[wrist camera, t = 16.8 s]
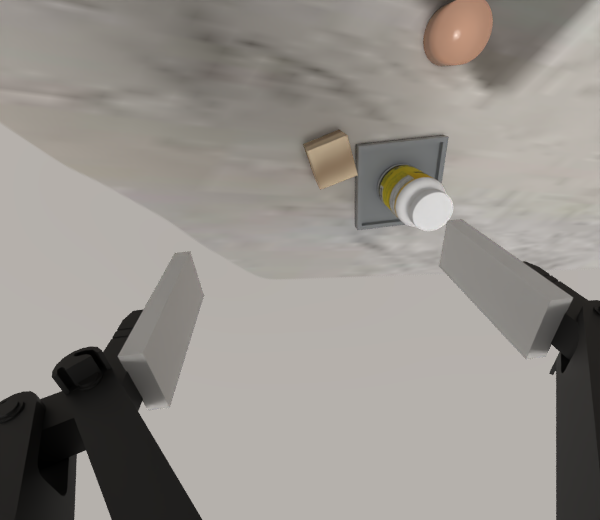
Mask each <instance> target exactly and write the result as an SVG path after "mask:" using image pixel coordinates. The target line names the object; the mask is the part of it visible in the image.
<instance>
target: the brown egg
mask: <svg viewBox="0 0 600 520" xmlns="http://www.w3.org/2000/svg"><path fill="white" fill-rule="evenodd" d="M492 23H493V19H492V12H491V9H490V7H489V5H488V3H487V2H486V1H485V0H456V1H454V2H451V3H449V4H447V5H445V6H443V7H441V8H440V9H439V10H437V11H436V12H435V14H434V15H433V16H432V17H431V19H430V20H429V22H428V24H427V27H426V29H425V33H424V41H423V44H424V51H425V54H426V56H427V58H428V59H429V60H430V61H431V62H432V63H433V64H435V65H438V66H451V65H460V64H465V63H467V62H469V61H471V60H473V59H474V58H475V57H477V56H478V55H479V54H480V52H481V51H482V50H483V49H484V47H485V46H486V44H487V42H488V40H489V37H490V34H491V30H492Z"/></svg>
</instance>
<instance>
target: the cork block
mask: <svg viewBox="0 0 600 520" xmlns="http://www.w3.org/2000/svg"><path fill="white" fill-rule="evenodd" d="M303 145H304V148H305V151H306V154H307V157H308V160H309V163H310V166H311V169H312V172H313V174H314V177H315V180H316V182H317V184H318V186H319V188H320V190H321V189H324V188H326V187H329V186H331V185H334V184H336V183H339V182H342V181H344V180H347V179H349V178H352V177H355V176H357V175H358V174H357V170H356V166H355V163H354V159H353V155H352V151H351V148H350V144H349V140H348V136H347V135H346V134H345V133H343V132H342V131H340V130H337V131H334V132H332V133H329V134H327V135H324V136H322V137H320V138H317V139H315V140H312V141H310V142H307V143H305V144H303Z"/></svg>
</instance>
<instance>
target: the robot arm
mask: <svg viewBox="0 0 600 520" xmlns="http://www.w3.org/2000/svg"><path fill="white" fill-rule="evenodd" d="M439 267H440V268H441V269H442V270H443V271H444V272H445V273H446V274H447V275H448V276H449V277H450V278H451V280H453V282H454V283H455V284H456V285H457V286H458V287H459V288H460V289H461V290H462V291H463V292H464V293H465V295H467V297H468V298H469V299H470V300H471V301H472V302H473V303H474V304H475V305H476V306H477V307H478V308H479V310H480V311H481V312H482V313H483V314H484V315H485V316H486V317H487V318H488V319H489V320H490V321H491V322H492V323H493V324H494V326H495V327H496V328H497V329H498V330H499V331H500V332H501V333H502V334H503V335H504V336H505V337H506V338H507V339H508V341H509V342H510V343H511V344H512V345H513V346H514V347H515V348H516V349H517V350H518V351H519V352H520V353H521V355H522V356H523V357H524V358H525V359H531V358H539V357H545V356H546V355H547V353H548V351H549V349H550V347H551V344H552V345H553V346H554V347H555V348H556V349H558V351H560V352H559V354H558V357H557V358H556V361H555V363H554V365H553V367H552V369H551V371H550V374H552V375H553V374H554V372H555V371H556V422H557V423H556V452H557V453H556V459H557V460H556V461H557V462H556V472H557V473H556V485H557V486H556V493H557V494H556V500H557V501H556V514H557V516H556V520H600V301H598V300H593V301H588V300H587V299H585V298H584V297H582V296H581V295H579V294H578V293H577V292H575V291H574V290H572V289H571V288H569V287H568V286H566V285H565V284H563V283H562V282H558V280H557V279H556V278H554V277H553V276H550V275H549V273H547V272H546V271H544V270H543V269H541V268H540V267H538V266H535V265H533V264H530V263H528V262H525V261H524V262H522V261H520V260H519V259H518V258H516V257H515V256H513V255H512V254H511V253H509V252H508V251H506V250H505V249H503V248H502V247H501V246H499V245H498V244H496V243H495V242H493V241H492V240H491V239H489V238H488V237H486V236H485V235H483V234H482V233H481V232H479V231H478V230H476V229H475V228H473V227H472V226H471V225H469V224H468V223H466V222H465V221H464V220H462V219H458V220H450V221H447V224H446V230H445V235H444V241H443V247H442V253H441V259H440V264H439ZM203 297H204V294H203V291H202V288H201V285H200V282H199V278H198V275H197V272H196V268H195V265H194V262H193V259H192V256H191V252H181V253H175V254H174V256H173V257H172V259H171V261H170V263H169V265H168V266H167V268H166V270H165V272H164V274H163V276H162V277H161V279H160V281H159V283H158V285H157V286H156V288H155V290H154V292H153V294H152V295H151V297H150V299H149V301H148V302H147V304H146V306H145V308H144V310H137V311H133V312H132V313H130V314H129V315H128V316H127V317H126V318H125V319H124V320H123V321H122V323H121V324H120V326H119V328H118V329H117V332H115V334H114V336H113V339H111V341H110V342H109V344H108V345H107V347H106V349H105V350H104V352H102V350H100V349H99V348H98V347H87V348H82V349H79V350H77V351H74V352H72V353H71V354H69V355H68V356H66V357H64V358H63V359H62V360H61V361H60V362H59V363H58V364H57V365H56V366H55V368H54V370H53V372H52V378H53V379H54V380H55V382H56V383H57V384H58V386H59V387H60V388H61V390H62V391H61V392H59V393H56V394H53V395H51V396H48V397H45V398H42V399H39V397H38V396H37V395H36V394H35V393H33V392H31V391H29V392H21V393H17V394H14V395H12V396H10V397H8V398H6V399H4V400H3V401H1V402H0V520H74V510H75V484H76V458H77V454H78V453H80V452H82V451H85V450H86V451H87V454H88V456H89V459H90V462H91V465H92V467H93V470H94V473H95V475H96V478H97V480H98V483H99V486H100V489H101V491H102V494H103V497H104V499H105V502H106V505H107V508H108V510H109V513H110V516H111V519H112V520H202V519H201V517H200V515H199V514H198V512H197V510H196V508H195V507H194V505H193V503H192V502H191V500H190V498H189V497H188V495H187V493H186V492H185V490H184V488H183V487H182V485H181V483H180V481H179V480H178V478H177V476H176V475H175V473H174V472H173V470H172V468H171V466H170V465H169V463H168V461H167V460H166V458H165V456H164V454H163V453H162V451H161V449H160V448H159V446H158V444H157V443H156V441H155V439H154V438H153V436H152V434H151V433H150V431H149V429H148V428H147V426H146V424H145V423H144V421H143V419H142V418H141V416H140V414H139V413H138V410H139V408H140V405H141V402H142V401H143V402H144V404H145V406H146V408H147V409H148V410H154V409H161V408H169V407H170V405H171V401H172V398H173V395H174V392H175V388H176V385H177V382H178V378H179V375H180V372H181V368H182V365H183V362H184V359H185V355H186V352H187V349H188V345H189V343H190V339H191V336H192V333H193V329H194V326H195V323H196V320H197V316H198V313H199V309H200V306H201V303H202V300H203Z"/></svg>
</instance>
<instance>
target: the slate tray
mask: <svg viewBox="0 0 600 520" xmlns="http://www.w3.org/2000/svg"><path fill="white" fill-rule="evenodd" d="M447 143H448V136H444V135H439V136H429V137H420V138H411V139H402V140H393V141H384V142H374V143H365V144H356V170H357V174H358V175H357V176H356V180H355V227H356V228H357V230H363V229H372V228H380V227H388V226H397V225H405V224H404V223H403V222H402V221H401V220H400V219H399V218H398V217H397V216H396V215H395V214H394V213H393V212H392V211H391V210H390V209H389V208H388V207H387V206H386V205H385V204H384V203H383V202H382V201H381V199H380V197H379V195H378V182H379V180H380V178H381V176H382V175H383V173H384V172H385V171H386V170H388V169H389V168H390V167H392V166H394V165H398V164H408V165H411V166H413V167H415V168H416V169H418V170H420V171H422V172H423V173H425V174H427V175H429V176H430V177H432V178H434V179H436V180H438V181H439V182H440V183H442V176H443V170H444V163H445V157H446V150H447Z"/></svg>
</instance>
